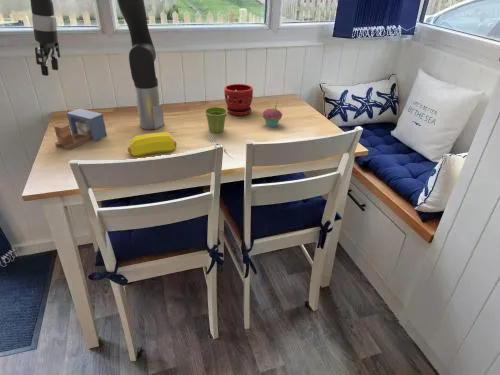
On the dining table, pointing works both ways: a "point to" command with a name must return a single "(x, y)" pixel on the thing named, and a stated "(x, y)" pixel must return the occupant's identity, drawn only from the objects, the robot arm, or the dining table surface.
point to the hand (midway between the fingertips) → (50, 72)
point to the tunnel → (94, 122)
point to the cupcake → (272, 116)
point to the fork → (214, 140)
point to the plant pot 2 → (238, 98)
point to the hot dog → (151, 144)
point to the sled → (70, 140)
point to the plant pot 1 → (216, 118)
